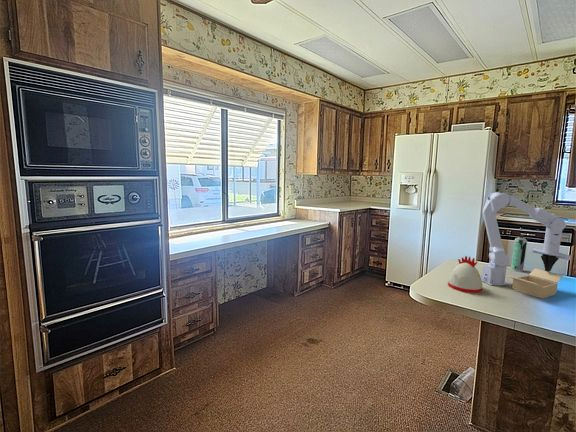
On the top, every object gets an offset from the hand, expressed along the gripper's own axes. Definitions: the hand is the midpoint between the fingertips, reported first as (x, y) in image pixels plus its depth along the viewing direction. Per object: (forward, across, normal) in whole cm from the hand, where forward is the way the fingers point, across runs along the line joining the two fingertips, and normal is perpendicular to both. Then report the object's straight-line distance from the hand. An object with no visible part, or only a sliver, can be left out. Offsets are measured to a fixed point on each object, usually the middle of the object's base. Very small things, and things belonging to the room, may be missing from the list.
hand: (547, 271), depth 147 cm
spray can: (+9, +22, -18) cm, 30 cm away
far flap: (+2, 0, +1) cm, 2 cm away
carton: (+8, 0, +10) cm, 13 cm away
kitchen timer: (+9, +16, +35) cm, 39 cm away
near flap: (+2, 0, +19) cm, 19 cm away
